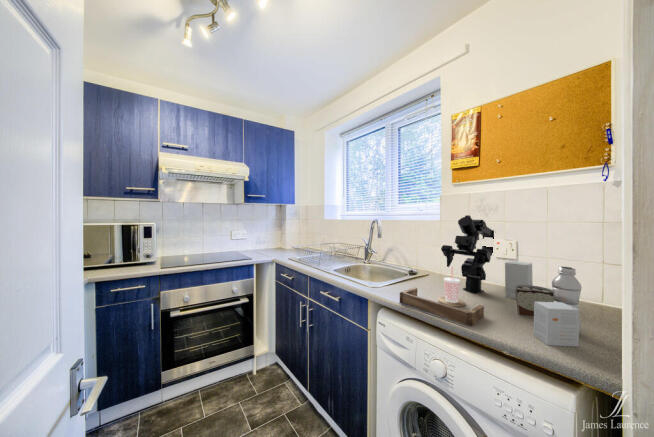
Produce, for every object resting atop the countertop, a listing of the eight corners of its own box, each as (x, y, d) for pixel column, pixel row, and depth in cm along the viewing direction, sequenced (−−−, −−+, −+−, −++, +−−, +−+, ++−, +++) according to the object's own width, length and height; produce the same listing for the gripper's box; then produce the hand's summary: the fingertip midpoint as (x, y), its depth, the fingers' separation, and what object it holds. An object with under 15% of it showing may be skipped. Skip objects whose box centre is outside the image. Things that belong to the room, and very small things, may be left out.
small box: (561, 336, 71) (562, 302, 71) (579, 347, 66) (580, 309, 66) (532, 335, 72) (533, 300, 72) (547, 345, 67) (548, 308, 66)
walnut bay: (414, 296, 106) (414, 287, 106) (483, 317, 85) (483, 305, 85) (399, 302, 99) (399, 292, 99) (471, 326, 78) (471, 314, 78)
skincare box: (533, 299, 102) (534, 263, 102) (527, 302, 99) (528, 265, 98) (509, 294, 109) (510, 260, 109) (503, 296, 106) (504, 261, 105)
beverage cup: (444, 302, 97) (445, 268, 97) (442, 297, 103) (443, 265, 103) (461, 304, 95) (462, 269, 95) (458, 299, 101) (459, 266, 101)
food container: (546, 313, 89) (547, 286, 88) (556, 320, 83) (557, 291, 82) (507, 308, 93) (507, 282, 92) (513, 314, 87) (514, 287, 87)
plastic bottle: (584, 339, 70) (586, 271, 70) (553, 333, 74) (555, 268, 73) (576, 330, 76) (578, 267, 75) (548, 324, 79) (549, 264, 79)
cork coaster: (444, 296, 106) (444, 295, 106) (469, 302, 98) (469, 301, 98) (433, 301, 100) (433, 300, 100) (459, 309, 92) (459, 307, 92)
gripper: (443, 227, 113) (431, 253, 106) (488, 230, 98) (478, 260, 92) (450, 243, 118) (439, 268, 111) (494, 247, 104) (485, 277, 97)
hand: (458, 268), depth 103 cm, fingers open, 9 cm apart
